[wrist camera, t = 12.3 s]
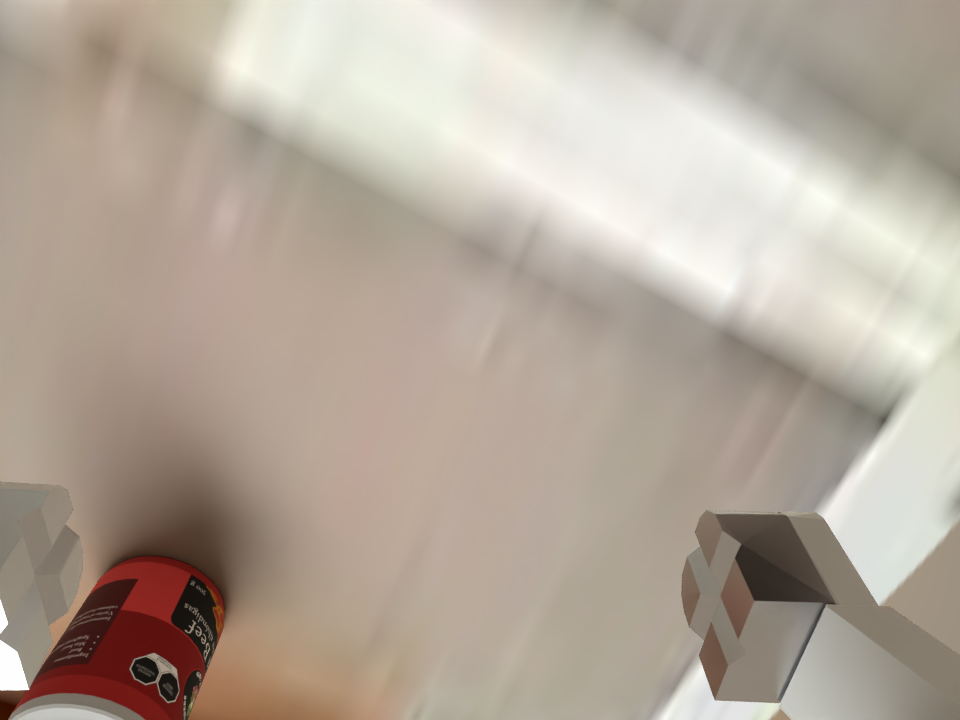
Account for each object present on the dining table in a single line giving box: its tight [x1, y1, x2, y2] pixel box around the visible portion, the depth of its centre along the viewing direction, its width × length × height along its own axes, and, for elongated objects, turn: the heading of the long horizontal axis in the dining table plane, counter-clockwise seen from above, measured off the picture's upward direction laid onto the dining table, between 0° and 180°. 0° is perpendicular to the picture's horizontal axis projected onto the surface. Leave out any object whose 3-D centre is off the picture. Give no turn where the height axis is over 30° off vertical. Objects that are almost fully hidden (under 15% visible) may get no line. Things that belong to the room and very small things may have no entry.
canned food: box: [9, 556, 224, 720], centre depth 43 cm, size 8×8×11 cm
